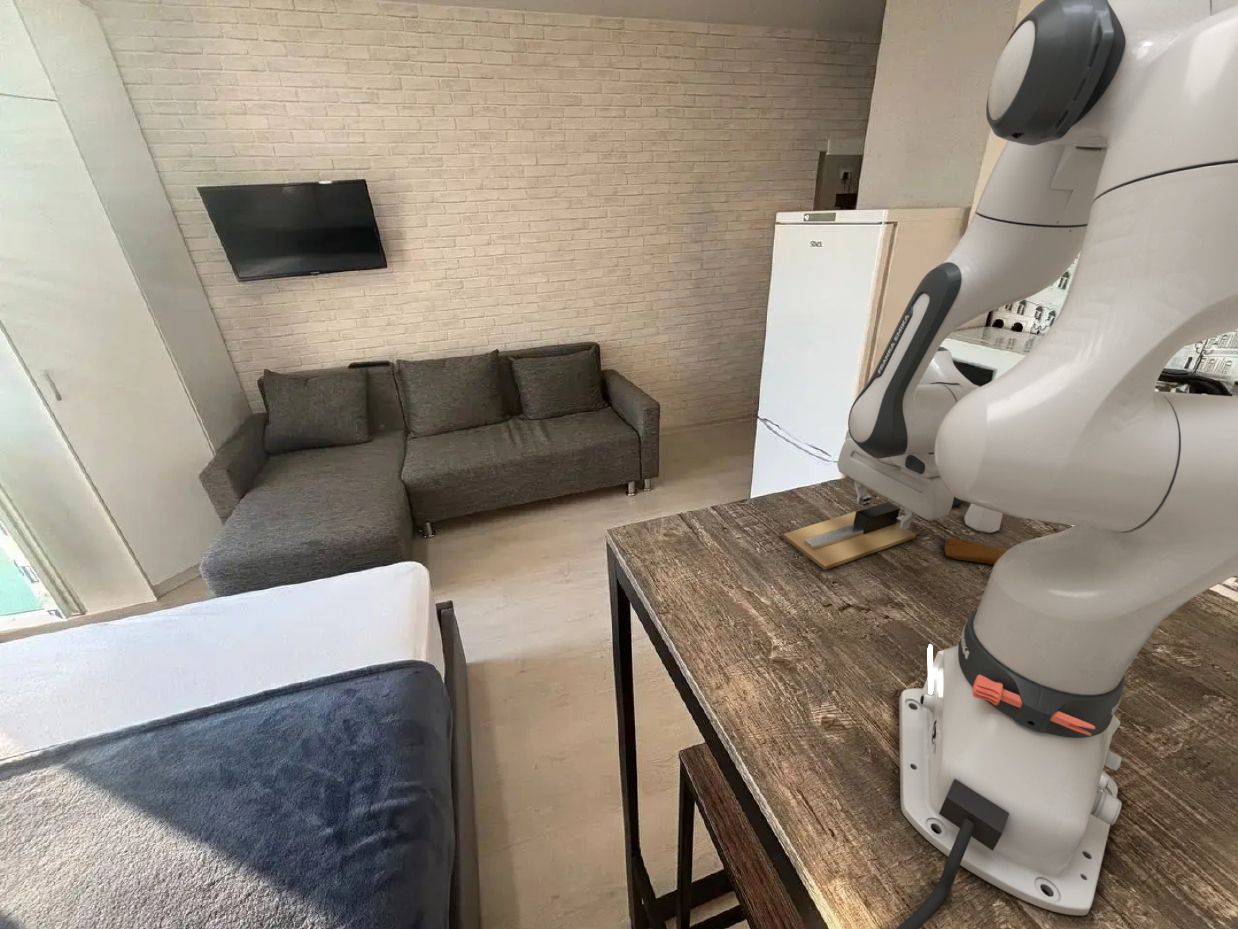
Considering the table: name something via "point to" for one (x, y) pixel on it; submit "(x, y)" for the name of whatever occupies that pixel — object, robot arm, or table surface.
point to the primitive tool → (972, 551)
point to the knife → (858, 525)
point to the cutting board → (845, 541)
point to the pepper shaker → (983, 519)
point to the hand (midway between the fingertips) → (881, 515)
